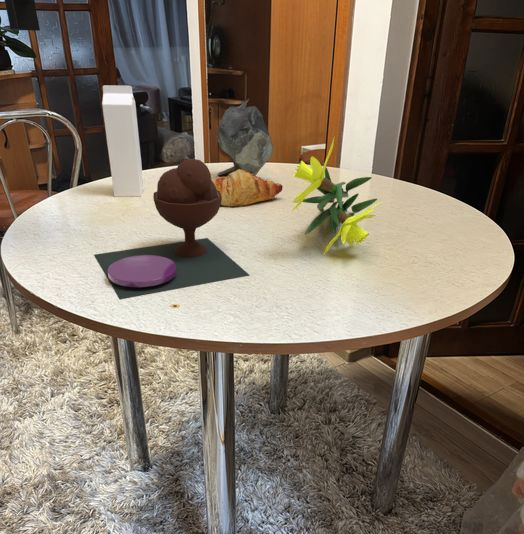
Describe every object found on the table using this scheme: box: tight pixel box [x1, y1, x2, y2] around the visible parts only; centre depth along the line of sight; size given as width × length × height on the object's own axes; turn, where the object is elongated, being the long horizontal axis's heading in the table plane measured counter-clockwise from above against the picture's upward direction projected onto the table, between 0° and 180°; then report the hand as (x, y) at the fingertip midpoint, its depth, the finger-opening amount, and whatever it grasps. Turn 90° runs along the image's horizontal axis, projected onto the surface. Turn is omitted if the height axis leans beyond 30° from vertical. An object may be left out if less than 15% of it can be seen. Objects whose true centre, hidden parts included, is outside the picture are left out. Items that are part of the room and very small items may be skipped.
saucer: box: [108, 255, 177, 287], centre depth 76 cm, size 10×10×2 cm
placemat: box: [93, 237, 251, 300], centre depth 81 cm, size 18×20×1 cm
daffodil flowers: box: [289, 135, 381, 257], centre depth 91 cm, size 17×15×35 cm
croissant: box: [212, 169, 283, 207], centre depth 112 cm, size 21×10×8 cm, turn 106°
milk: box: [101, 84, 145, 198], centre depth 111 cm, size 6×6×22 cm
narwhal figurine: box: [216, 98, 275, 177], centre depth 124 cm, size 14×15×18 cm
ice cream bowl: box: [152, 158, 222, 257], centre depth 82 cm, size 11×11×15 cm
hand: (24, 30), depth 74 cm, fingers open, 13 cm apart
